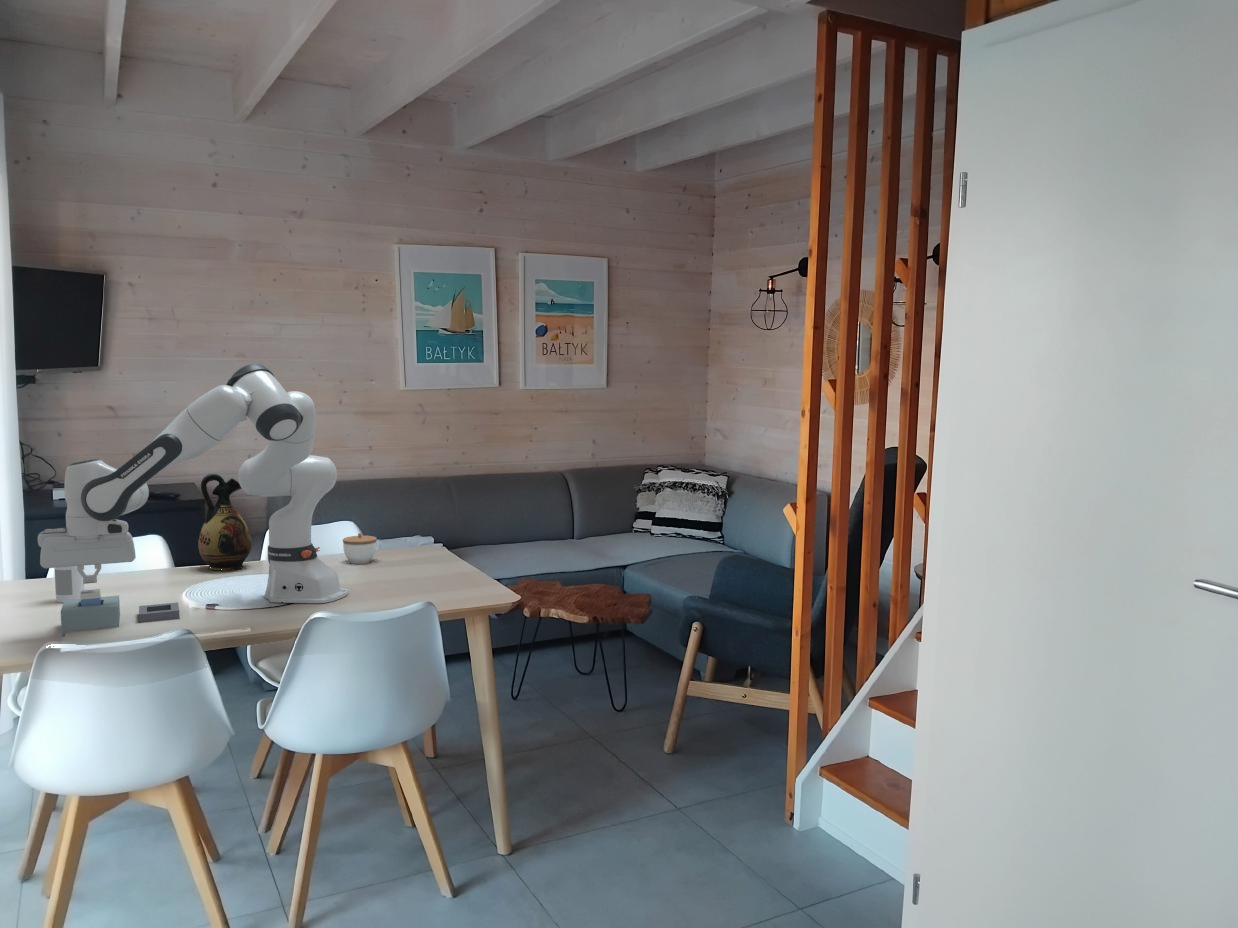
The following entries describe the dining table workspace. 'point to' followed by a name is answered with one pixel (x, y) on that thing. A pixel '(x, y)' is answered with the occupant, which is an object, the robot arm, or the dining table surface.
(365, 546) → the lidded jar
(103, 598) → the port block
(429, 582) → the dining table surface
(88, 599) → the plug
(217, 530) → the ceramic jug
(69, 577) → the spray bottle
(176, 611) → the holster
